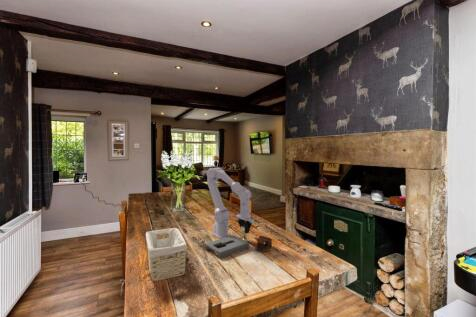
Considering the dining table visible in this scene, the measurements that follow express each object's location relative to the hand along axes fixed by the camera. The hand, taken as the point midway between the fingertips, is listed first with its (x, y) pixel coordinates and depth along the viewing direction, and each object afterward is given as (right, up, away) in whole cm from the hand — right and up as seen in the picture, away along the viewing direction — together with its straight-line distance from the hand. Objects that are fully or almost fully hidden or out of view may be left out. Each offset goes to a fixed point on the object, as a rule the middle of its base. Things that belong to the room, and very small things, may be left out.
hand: (244, 232), depth 145 cm
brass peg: (0, -5, 0) cm, 5 cm away
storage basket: (-39, -7, -32) cm, 51 cm away
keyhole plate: (-10, -6, -12) cm, 17 cm away
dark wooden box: (+11, -6, -12) cm, 17 cm away
